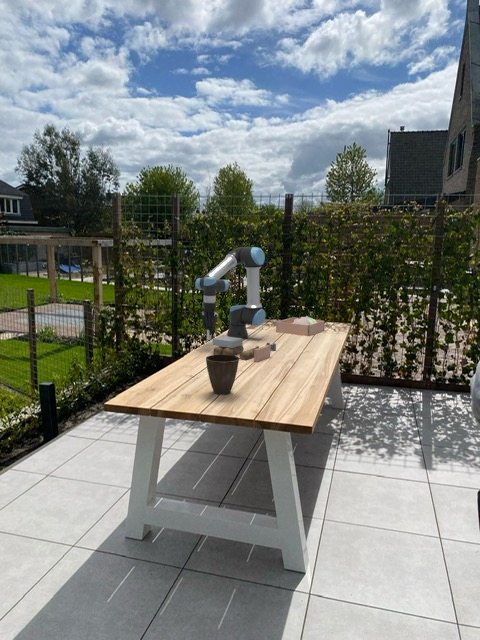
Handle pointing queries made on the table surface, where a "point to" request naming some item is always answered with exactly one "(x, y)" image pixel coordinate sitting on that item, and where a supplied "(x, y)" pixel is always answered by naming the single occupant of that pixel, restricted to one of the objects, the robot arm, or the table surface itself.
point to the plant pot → (222, 372)
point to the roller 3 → (247, 353)
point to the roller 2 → (233, 350)
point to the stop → (262, 353)
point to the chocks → (239, 358)
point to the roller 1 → (218, 350)
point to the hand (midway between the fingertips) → (209, 339)
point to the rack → (273, 347)
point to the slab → (227, 341)
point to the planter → (299, 327)
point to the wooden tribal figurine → (304, 321)
